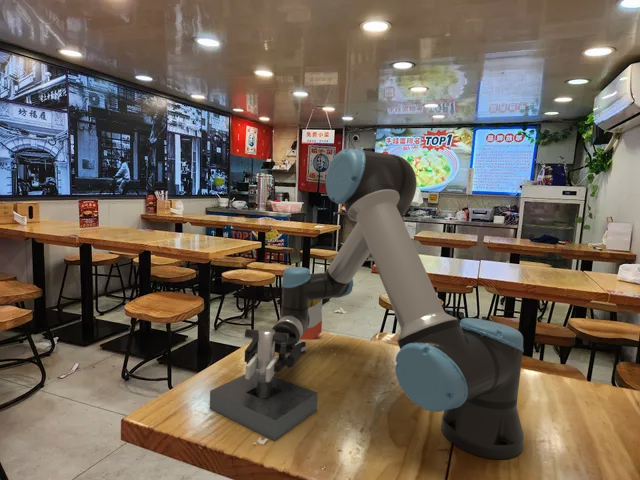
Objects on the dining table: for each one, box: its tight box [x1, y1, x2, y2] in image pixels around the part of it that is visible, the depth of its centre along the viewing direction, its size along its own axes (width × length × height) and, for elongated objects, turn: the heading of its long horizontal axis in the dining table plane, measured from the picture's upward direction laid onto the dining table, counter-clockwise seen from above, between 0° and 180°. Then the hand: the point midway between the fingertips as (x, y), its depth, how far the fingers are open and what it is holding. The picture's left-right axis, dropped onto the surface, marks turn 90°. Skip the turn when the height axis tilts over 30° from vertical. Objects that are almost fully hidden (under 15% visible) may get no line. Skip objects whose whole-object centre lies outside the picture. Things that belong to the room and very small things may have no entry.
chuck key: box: [244, 327, 289, 401], centre depth 84 cm, size 9×4×15 cm, turn 81°
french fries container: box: [300, 299, 323, 341], centre depth 130 cm, size 5×11×18 cm, turn 96°
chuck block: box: [209, 369, 319, 442], centre depth 85 cm, size 18×14×4 cm
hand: (257, 373), depth 79 cm, fingers closed on chuck key, 3 cm apart
